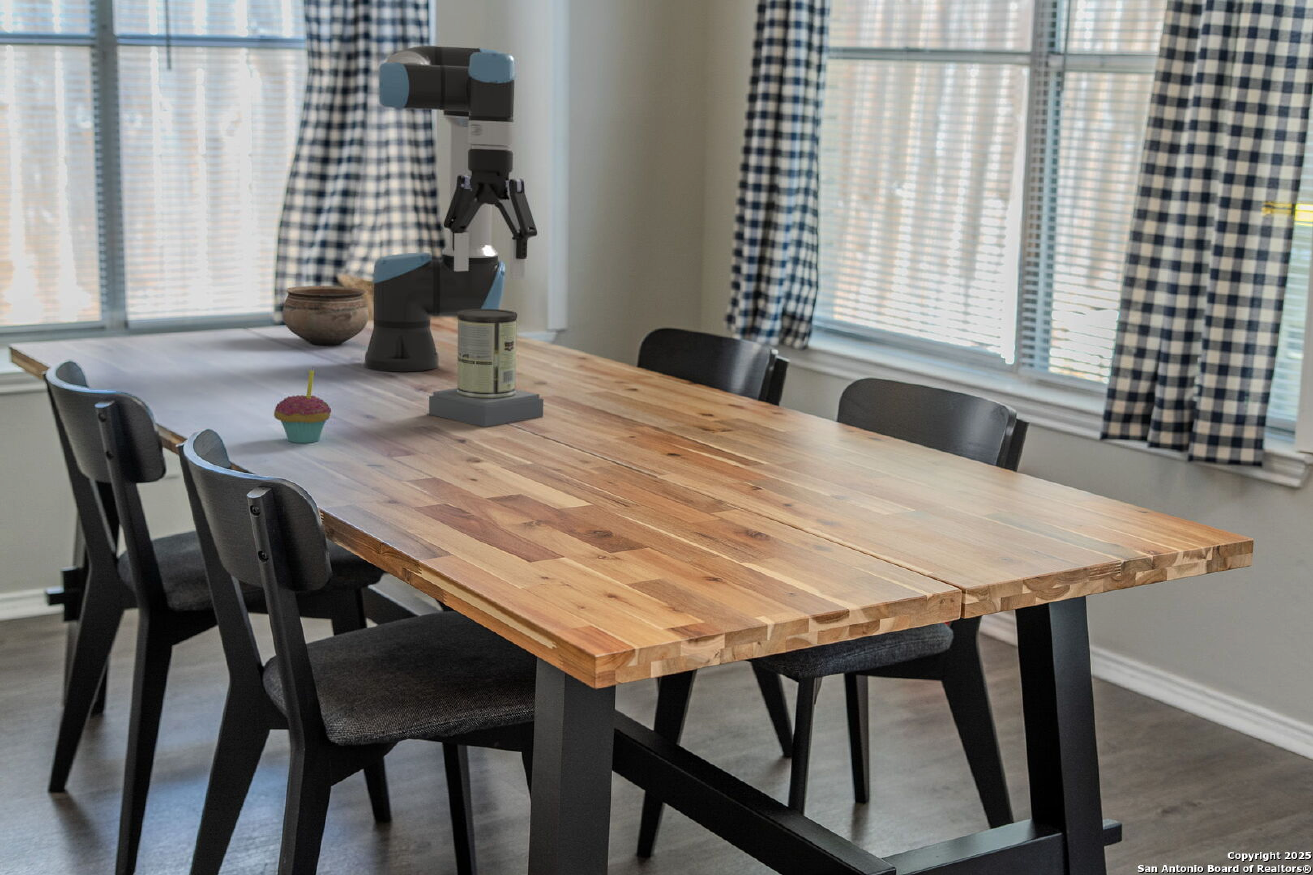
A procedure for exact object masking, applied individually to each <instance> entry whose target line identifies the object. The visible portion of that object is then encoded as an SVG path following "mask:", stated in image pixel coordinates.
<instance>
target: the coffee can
mask: <svg viewBox="0 0 1313 875" xmlns="http://www.w3.org/2000/svg"><path fill="white" fill-rule="evenodd" d="M457 316H458V317H457V379H456V380H457V381H456V382H457V384H456V386H457V387H456V388H457V393H458V394H460V395H464V396H468V397H478V398H501V397H508V396H512V395H514V394H515V389H516V367H517V366H516V364H517V363H516V362H517V361H516V358H517V356H516V355H517V319H518V313H517V312H516V311H512V310H507V309H506V310H505V309H499V310H498V309H468V310H461V311H458V312H457Z"/></svg>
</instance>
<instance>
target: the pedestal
mask: <svg viewBox="0 0 1313 875" xmlns="http://www.w3.org/2000/svg"><path fill="white" fill-rule="evenodd" d="M432 394H433V395H429V396H428V400H429V401H428V414H429V415H431V416H435V417H440V418H445V419H449V420H453V421H457V422H460V423H465V424H471V425H474V426H477V427H478V426H479V427H482V428H489V427H494V426H499V425H505V424H511V423H515V422H516V423H517V422H521V421H527V420H532V419H537V418H543V417H544V398H541V397H540V394H539V393H535V392H529V391H526V390H521V389H516V388H515V394H514V395H512V396H508V397H501V398H478V397H468V396H464V395H460V394H458V393H457V387H456V388H449V389H448V388H447V389H442V390H435V391H433V392H432Z"/></svg>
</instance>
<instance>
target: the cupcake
mask: <svg viewBox="0 0 1313 875" xmlns="http://www.w3.org/2000/svg"><path fill="white" fill-rule="evenodd" d="M314 367H315V366H314V365H313V366H312V367H311V370H309V372H308V373H309V374H308V375H309V376H308V382H307V391H306V395H305V394H304V395H303V394H301V395H292V396H290V395H289V396H287V397H286V398H283V400H281V401H279V402H278V403H277V404H276V406H275V409H274V413H273V416H274V419H276V420H278V421H280V422H281V425H282V426H283V429H284V432H285V434H286V437H287V438H286V439H287V440H288V441H289V442H291V443H295V444H310V443H316V442H318V441H319V440H320V438H321V434H322V431H323V428H324V426H325V423H327V422H326V421H327V420H329V419H330V415H331V413H332V408H330V406H329V404H328V403H327V402H326V401H324V400H323V399H322V398H321V399H320V397H317V396H315V395H312V390H313V383H314V374H315V371H314Z"/></svg>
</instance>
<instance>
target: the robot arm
mask: <svg viewBox="0 0 1313 875" xmlns="http://www.w3.org/2000/svg"><path fill="white" fill-rule="evenodd" d="M515 69H516V68H515V58H514V57H513V55H511V54H509V53H501V52H500V51H498V50H495V49H489V48H481V47H478V48H476V47H460V46H459V47H458V46H457V47H456V46H455V47H454V46H439V45H438V46H437V45H419V46H414V47H409V48H404V49H401V50H399V51H397V52H395V53H394V54H392V55H391V56H389V57H388V58H387V60H386V61H385V62H383V63H381V64H380V65H379V68H378V70H379V71H378V72H379V73H378V76H379V77H378V85H379V86H378V99H379V100H378V101H379V104H380V105H381V106H382V107H383V108H391V109H392V108H394V109H397V110H402V109H403V110H405V109H406V110H407V109H408V110H409V109H411V110H436V111H437V110H439V111H443V117H444V119H445V120H446V121H447V122H448V123H449V125H450V163H449V164H450V174H449V175H450V178H449V184H450V185H449V188H450V189H449V206H448V210H447V213H446V216H445V218H444V220H443V227H444V228H445V229H449V234H448V236H449V240H448V241H449V242H448V245H447V246H446V247H444V248H443V249H442V251H441V259H438V260H437V259H433V257H432V256H431V253H429V252H410V253H408V252H407V253H399V254H393V255H387V256H383V257H380V258H378V259H377V260H376V261H375V262H374V265H373V279H372V284H373V329H372V333H371V336H370V339H369V342H368V346H367V350H366V352H365V354H364V365H365V367H366V368H369V369H372V370H379V371H388V372H420V371H421V372H422V371H429V370H435V369H437V368H438V367H439V365H440V364H439V362H440V361H439V360H440V359H439V358H440V357H439V354H438V352H437V348H436V344H435V340H434V337H433V334H432V331H431V330H432V329H431V317H441V318H442V317H446V318H447V317H450V318H451V317H457V318H458V316H457V312H458V311H461V310H468V309H498V310H500V306H501V304H502V299H503V295H504V288H505V287H504V286H505V279H506V277H505V276H506V265H505V262H503V261H502V260H499V253H498V251H497V250H496V249H495V248H494V247H493V245H492V224H493V223H492V219H493V218H492V215H493V214H492V213H493V205H494V207H496V209H498V210H499V212H500V213H501V216H502V218H503V220H504V221H505V223H506V225H507V226H508V229H509V231H510V233H511V234H512V237H511V239H510V240H509V241H510V242H509V246H510V247H509V280H518V279H525V260H526V259H527V258H528V240H529V239H530V238H533V237H536V236H538V230H537V227H536V224H535V223H536V222H535V220H534V218H533V215H532V214H533V213H532V211H531V209H530V205H529V202H528V198H527V196H526V192H525V180H524V179H522V178H510V173H512V172H513V169H514V164H513V163H514V152H513V150H510V148H511V147H514V110H515V109H514V105H515V104H514V103H515V79H516V76H517V75H516V71H515Z"/></svg>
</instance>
